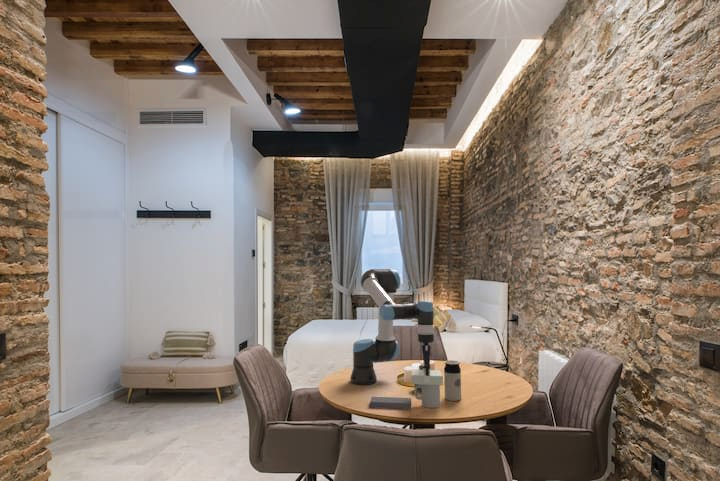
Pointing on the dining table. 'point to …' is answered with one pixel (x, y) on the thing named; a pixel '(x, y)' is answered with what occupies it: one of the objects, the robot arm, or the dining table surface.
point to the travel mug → (452, 380)
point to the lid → (435, 377)
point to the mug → (429, 395)
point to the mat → (390, 402)
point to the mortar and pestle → (419, 384)
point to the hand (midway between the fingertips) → (426, 378)
